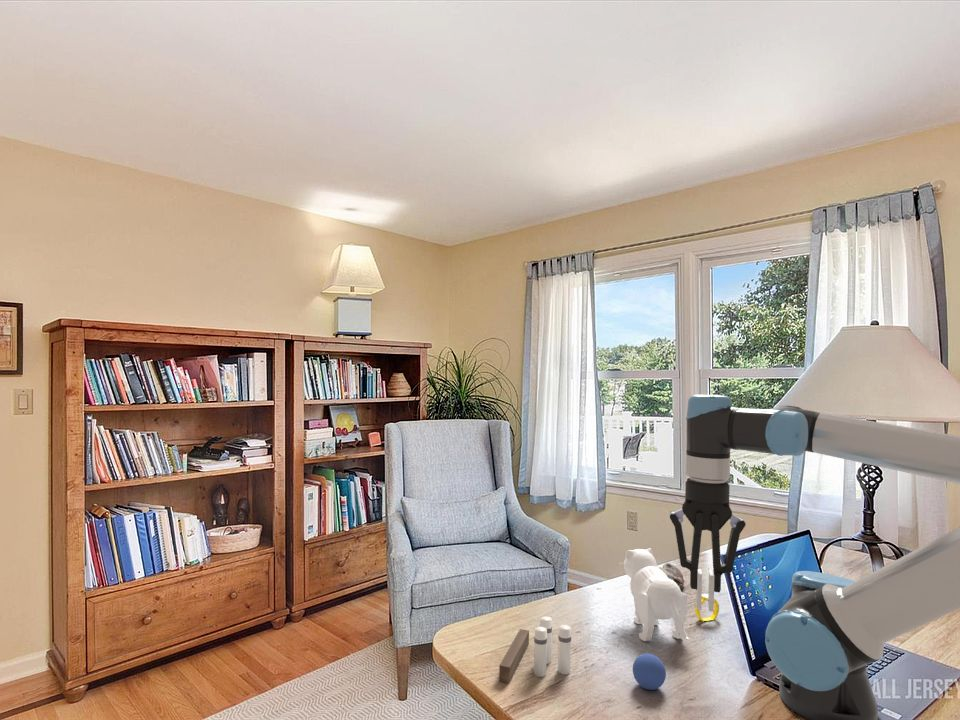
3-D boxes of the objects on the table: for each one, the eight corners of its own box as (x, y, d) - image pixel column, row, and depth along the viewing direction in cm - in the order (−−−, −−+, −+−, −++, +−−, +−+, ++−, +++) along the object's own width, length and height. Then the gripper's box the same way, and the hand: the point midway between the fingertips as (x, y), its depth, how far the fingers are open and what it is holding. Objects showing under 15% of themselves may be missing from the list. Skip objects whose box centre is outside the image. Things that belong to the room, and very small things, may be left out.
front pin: (573, 672, 111) (574, 628, 112) (564, 676, 110) (565, 632, 110) (564, 666, 113) (565, 623, 114) (555, 670, 112) (556, 627, 112)
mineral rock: (672, 598, 149) (673, 581, 149) (644, 590, 154) (644, 573, 155) (693, 583, 160) (693, 567, 161) (665, 576, 166) (666, 561, 166)
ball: (672, 689, 106) (672, 657, 106) (652, 700, 102) (653, 667, 103) (645, 675, 111) (646, 644, 111) (625, 685, 107) (626, 653, 107)
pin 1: (553, 661, 115) (554, 619, 115) (544, 665, 114) (545, 622, 114) (545, 656, 117) (546, 615, 117) (536, 660, 116) (537, 618, 116)
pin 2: (549, 674, 110) (549, 630, 110) (539, 678, 109) (540, 633, 109) (540, 668, 112) (541, 625, 112) (530, 672, 111) (531, 628, 111)
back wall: (528, 644, 122) (529, 630, 122) (509, 683, 107) (509, 667, 107) (519, 642, 123) (520, 628, 123) (499, 681, 107) (499, 665, 108)
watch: (712, 617, 138) (714, 593, 139) (720, 622, 136) (722, 597, 136) (692, 618, 137) (694, 593, 137) (699, 623, 134) (701, 598, 134)
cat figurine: (710, 657, 118) (712, 577, 119) (666, 663, 116) (668, 581, 116) (646, 607, 143) (647, 541, 143) (608, 611, 140) (609, 543, 140)
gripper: (747, 478, 106) (745, 605, 105) (666, 472, 110) (663, 594, 110) (753, 486, 98) (750, 622, 98) (666, 479, 103) (663, 609, 103)
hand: (704, 607), depth 104 cm, fingers closed
